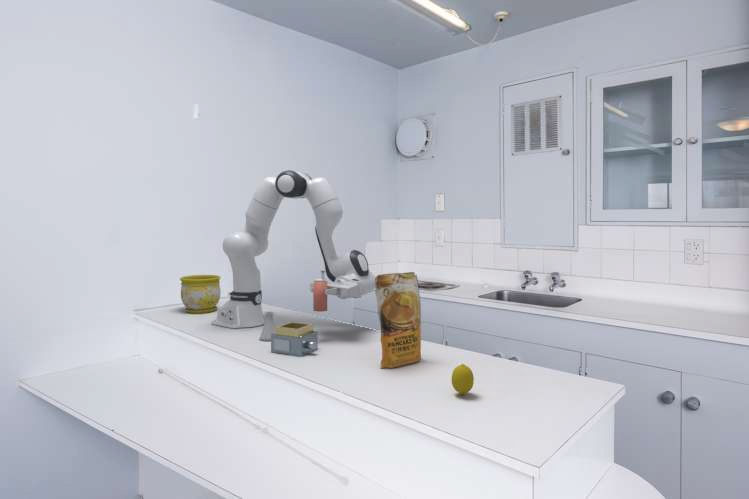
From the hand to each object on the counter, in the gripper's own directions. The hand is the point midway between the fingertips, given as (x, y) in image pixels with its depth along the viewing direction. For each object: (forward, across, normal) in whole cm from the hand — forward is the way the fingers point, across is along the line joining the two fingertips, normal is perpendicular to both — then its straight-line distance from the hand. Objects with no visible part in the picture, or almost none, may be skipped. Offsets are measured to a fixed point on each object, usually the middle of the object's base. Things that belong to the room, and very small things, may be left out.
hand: (318, 291), depth 169 cm
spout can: (-1, 0, +7) cm, 7 cm away
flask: (+9, -17, +19) cm, 27 cm away
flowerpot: (-3, -83, +19) cm, 85 cm away
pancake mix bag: (+2, +37, +18) cm, 42 cm away
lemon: (+13, +65, +18) cm, 69 cm away
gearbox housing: (+13, +3, +18) cm, 23 cm away
